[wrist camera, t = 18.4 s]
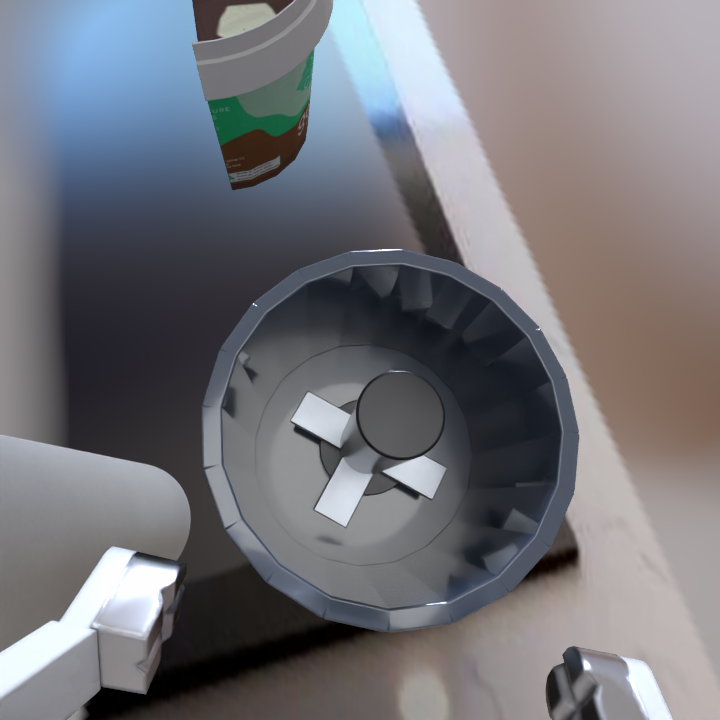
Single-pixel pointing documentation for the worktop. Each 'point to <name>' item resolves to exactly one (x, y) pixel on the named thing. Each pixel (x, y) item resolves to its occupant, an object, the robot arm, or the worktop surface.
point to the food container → (258, 79)
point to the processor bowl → (453, 450)
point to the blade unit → (376, 441)
